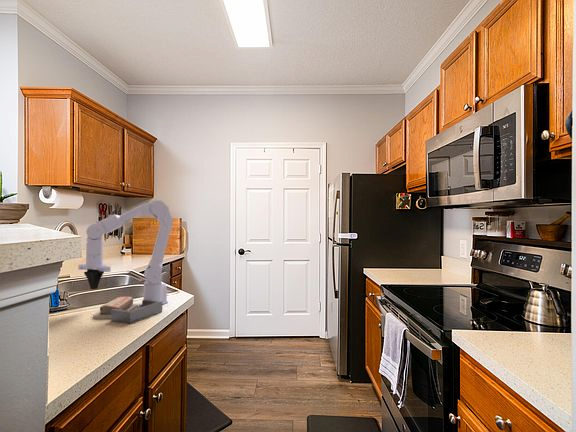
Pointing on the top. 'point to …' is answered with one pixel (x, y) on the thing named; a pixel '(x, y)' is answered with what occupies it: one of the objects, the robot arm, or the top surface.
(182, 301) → the top surface
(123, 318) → the dark grey slab
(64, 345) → the top surface
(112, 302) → the packaged product
